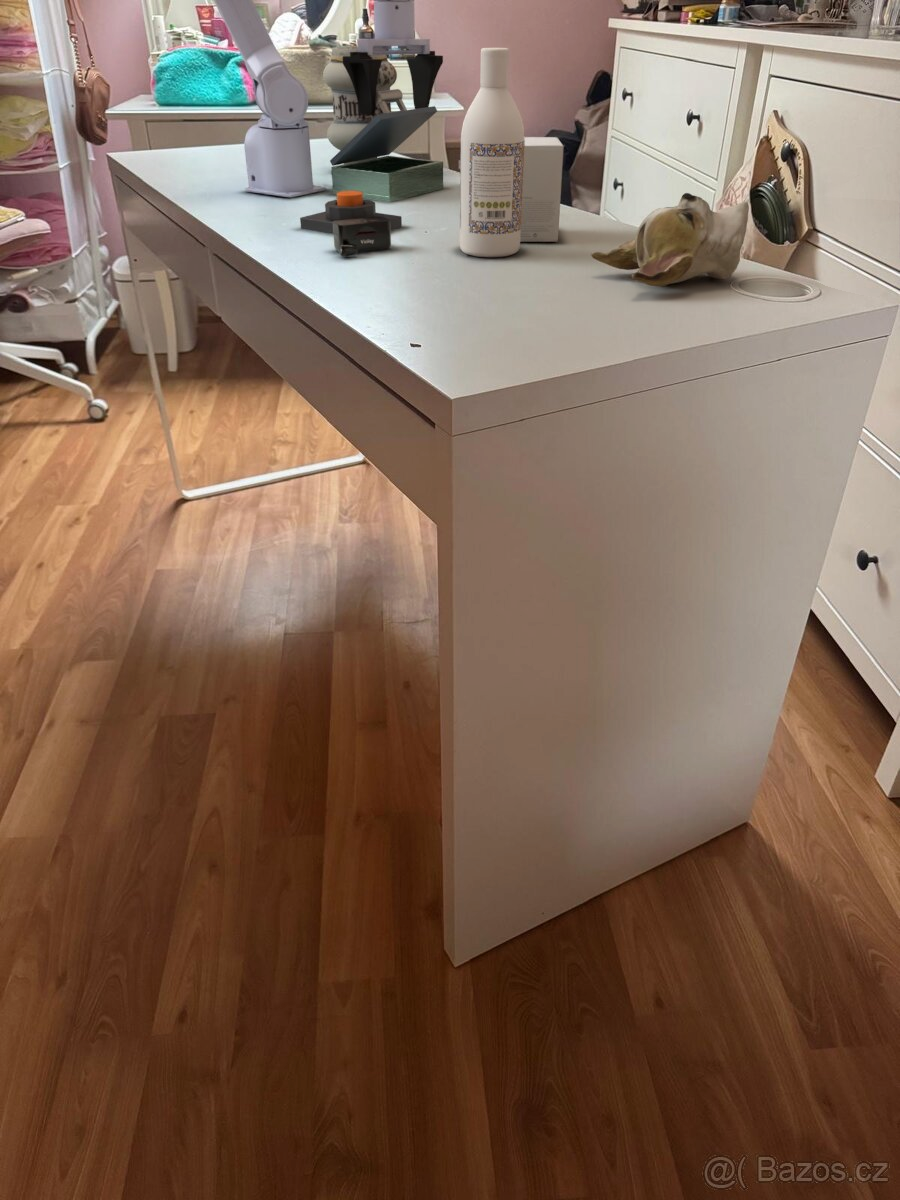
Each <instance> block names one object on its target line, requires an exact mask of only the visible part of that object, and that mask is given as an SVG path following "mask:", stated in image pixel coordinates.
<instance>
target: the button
mask: <svg viewBox="0 0 900 1200" xmlns="http://www.w3.org/2000/svg"><path fill="white" fill-rule="evenodd" d="M363 199H364V198H363V193H362V192H359V191H341V192H338V193H337V195H336V200H337V205H339V206H360V205H363Z"/></svg>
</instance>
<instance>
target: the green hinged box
mask: <svg viewBox="0 0 900 1200" xmlns="http://www.w3.org/2000/svg"><path fill="white" fill-rule="evenodd" d="M330 167H331V182H332V194H333V195H334V196H335V195H336V196H337V193H338V192H341V191H359V192H362V193H363V199H364V200H371V201H373V200H374V201H378V202H379V201H380V202H387V203H390V202H396V201H399V200H402V199H404V200H405V199H409V198H413V197H417V196H420V195H424V194H428V193H431V192H436V191H440V190H444V161H441V160H431V159H425V158H424V159H422V158H413V157H405V156H403V157H402V156H396V155H395V156H394V155H385V156H380V157H377V158H374V159H369V160H364V161H359V162H354V163H349V164H339V165H334V166H330Z"/></svg>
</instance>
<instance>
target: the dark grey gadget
mask: <svg viewBox="0 0 900 1200" xmlns="http://www.w3.org/2000/svg"><path fill="white" fill-rule="evenodd" d="M333 233H334V234H333V244H334V245H333V246H334V247H333V248H334V250H335V251H336V252H338V253H339V255H340V256H341V257H343V258H347V257H352V256H354V255H356V254H361V253H370V252H371V253H372V252H379V251H387V250H389V249H390V248H391V246H392V236H391V235H392V230H391V228H390V219H387V218H385V217H369V218H359V219H349V220H339V221H333Z"/></svg>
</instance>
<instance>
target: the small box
mask: <svg viewBox="0 0 900 1200" xmlns="http://www.w3.org/2000/svg"><path fill="white" fill-rule="evenodd" d="M524 137H525V139H524V140H525V146H524V169H523V191H522V214H521V233H520V243H529V242H530V243H532V242H533V243H535V242H536V243H537V242H539V243H541V242H542V243H547V242H552V243H553V242H559V232H560V231H559V228H560V213H561V212H560V211H561V198H562V196H561V195H562V179H563V162H564V145H563V143H562V142H561V141H560V139H559V137H557V136H542V137H541V136H524Z"/></svg>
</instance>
